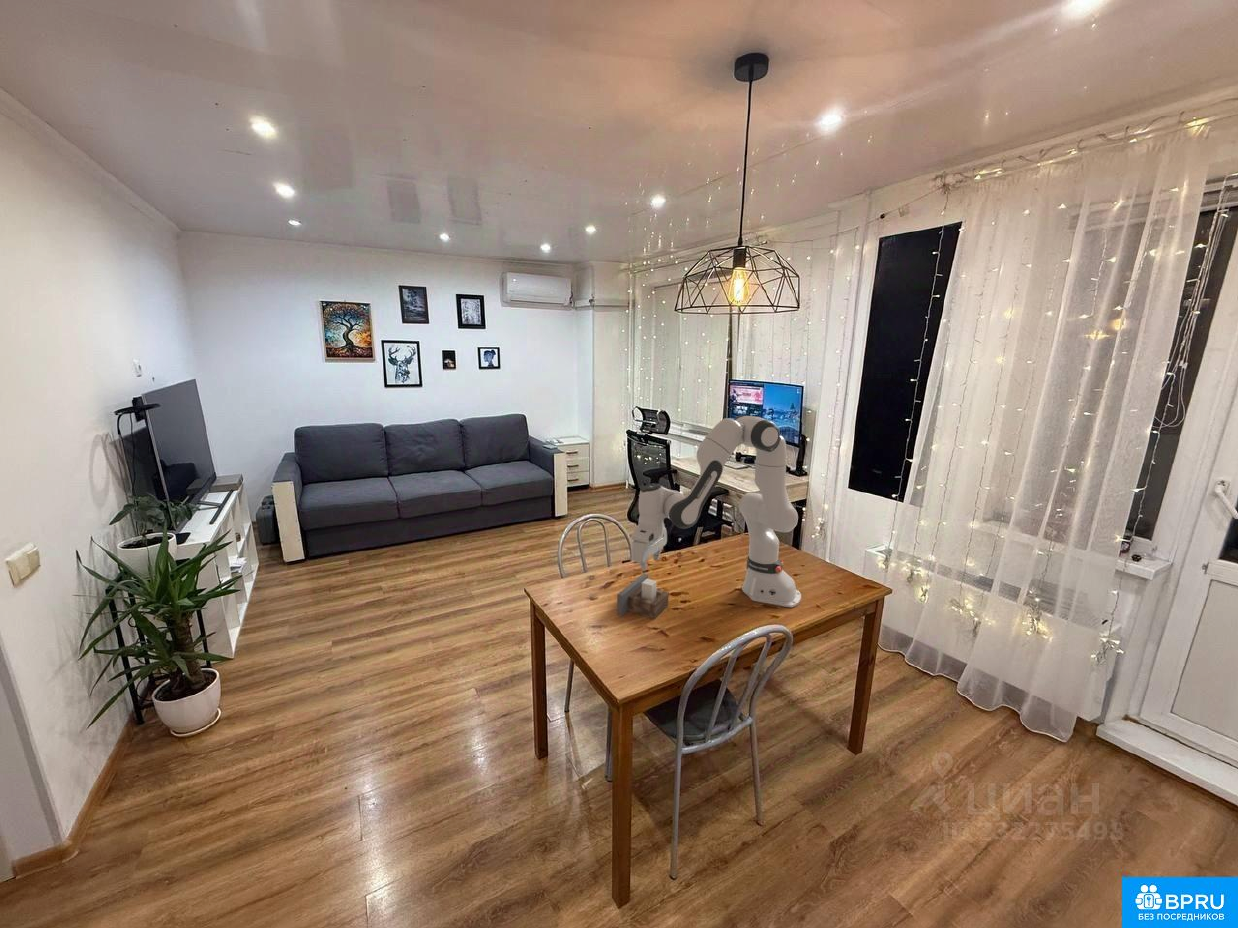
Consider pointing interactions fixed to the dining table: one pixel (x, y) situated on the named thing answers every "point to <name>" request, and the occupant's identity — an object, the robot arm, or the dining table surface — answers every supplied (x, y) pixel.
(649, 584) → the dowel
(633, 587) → the wall
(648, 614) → the brown square open box
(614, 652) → the dining table surface
